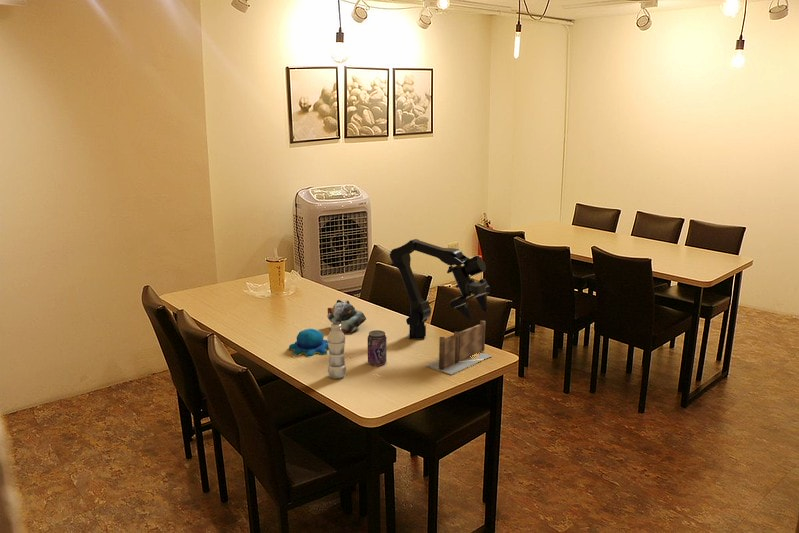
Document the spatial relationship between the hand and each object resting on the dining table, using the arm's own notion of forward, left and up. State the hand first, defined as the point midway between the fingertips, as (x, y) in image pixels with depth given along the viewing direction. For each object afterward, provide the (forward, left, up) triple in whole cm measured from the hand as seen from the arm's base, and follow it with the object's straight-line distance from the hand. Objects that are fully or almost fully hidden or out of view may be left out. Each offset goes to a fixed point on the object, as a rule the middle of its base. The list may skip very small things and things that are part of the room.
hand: (478, 316), depth 249 cm
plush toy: (-66, -4, -15) cm, 68 cm away
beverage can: (-39, -17, -14) cm, 44 cm away
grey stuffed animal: (-56, +21, -14) cm, 61 cm away
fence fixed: (-12, -18, -14) cm, 25 cm away
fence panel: (-3, -8, -13) cm, 16 cm away
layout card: (-7, -13, -14) cm, 20 cm away
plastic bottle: (-52, -31, -14) cm, 62 cm away
